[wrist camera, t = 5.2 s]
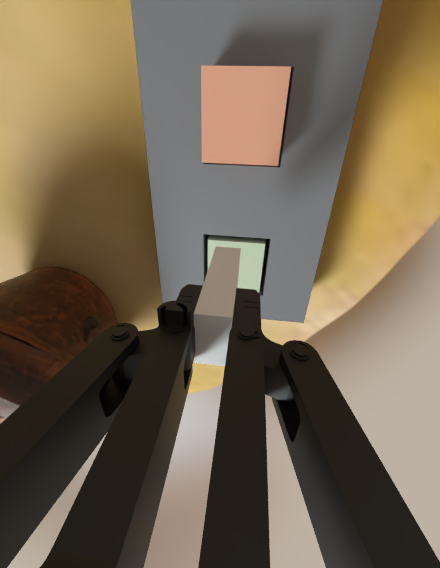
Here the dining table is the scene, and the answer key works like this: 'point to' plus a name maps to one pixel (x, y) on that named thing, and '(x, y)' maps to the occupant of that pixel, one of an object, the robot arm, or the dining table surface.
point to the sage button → (243, 257)
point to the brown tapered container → (45, 329)
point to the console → (241, 177)
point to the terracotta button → (243, 113)
